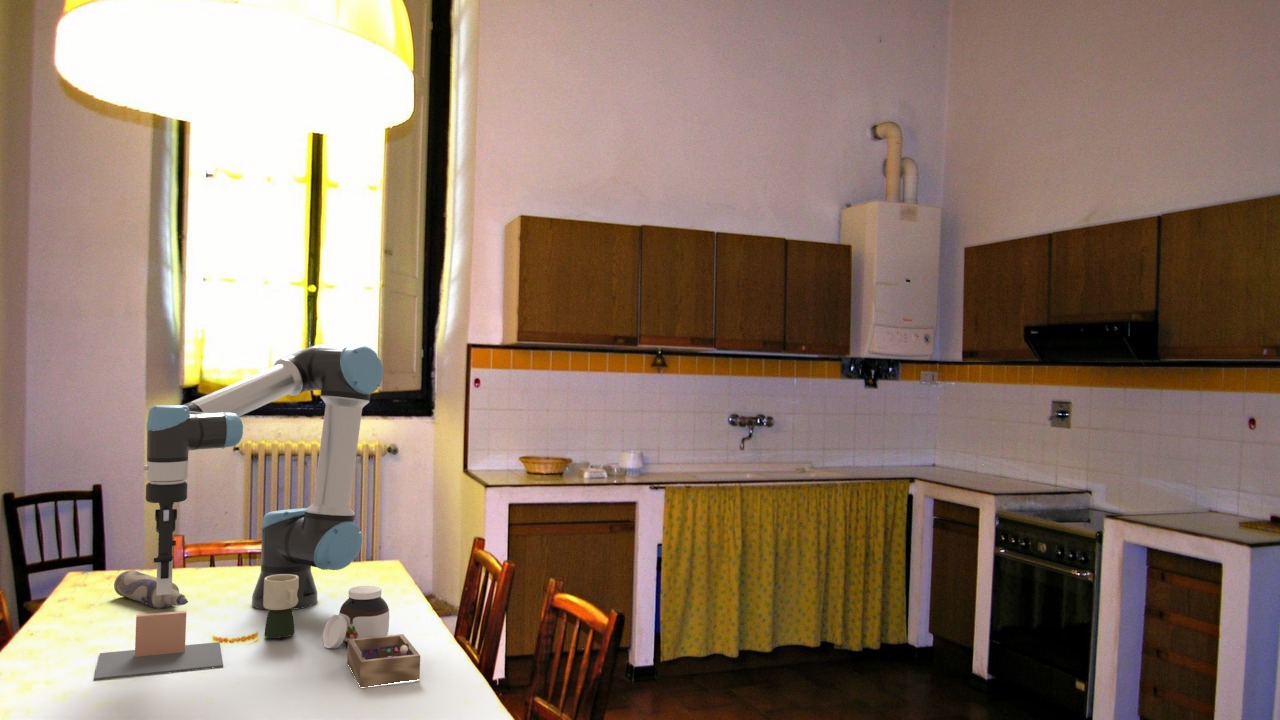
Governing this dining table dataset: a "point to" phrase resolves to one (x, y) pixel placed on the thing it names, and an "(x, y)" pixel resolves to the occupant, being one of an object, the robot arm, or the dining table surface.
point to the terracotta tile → (160, 633)
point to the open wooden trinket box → (382, 661)
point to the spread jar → (358, 617)
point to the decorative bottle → (146, 590)
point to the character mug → (280, 604)
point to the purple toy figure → (374, 652)
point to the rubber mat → (158, 662)
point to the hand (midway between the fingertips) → (164, 586)
